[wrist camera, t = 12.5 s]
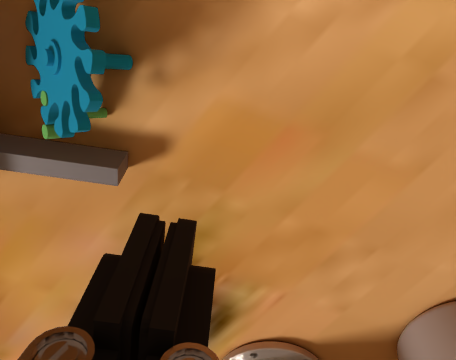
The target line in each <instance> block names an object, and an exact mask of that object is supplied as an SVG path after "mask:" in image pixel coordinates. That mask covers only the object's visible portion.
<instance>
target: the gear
mask: <svg viewBox="0 0 456 360" xmlns="http://www.w3.org/2000/svg"><path fill="white" fill-rule="evenodd" d="M83 1H84V0H34V2H35V5H36V8H37V12H35V11H28V14H27V17H26V22H25V24H26V28H27V30H28V31H29V32H30V33H31V34H32V36H33V39H34V42H35V45H36V46H26V63H27V64H28V65H34V66H35V67H36V68H37V70H38V71H39V73H40V78H41V80H40V79H32V80H31V90H32V95H33V98H41V102H42V104H43V106H42V107H41V116H42V118H43V121H44V123H45V124H43V126H42V134H43V137H44V138H45V139H54V138H66V137H74V134H75V132H87V131H89V130H90V129H91V124H90V120H89V118H106V117H107V110H106V108H100V107H101V105H102V102H103V97H102V94H101V92H100V91H99V90H97V88H96V87H95V86H94V84H93V82H92V80H91V74H104V71H105V69H123V70H130V69H131V68H132V65H133V60H132V57H131V56H130V55H122V54H108V53H105V52H104V51H103V50H93V49H91V48H90V47H89V46H88V44H87V43H86V41H85V36H84V34H85V31H89V32H98V31H99V29H100V19H99V13H98V8H97V7H91V6H85V5H80V6H79V7H78V9H77V12H76V14H75V7H76V4H77V3H79V2H83Z"/></svg>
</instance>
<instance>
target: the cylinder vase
mask: <svg viewBox="0 0 456 360" xmlns="http://www.w3.org/2000/svg"><path fill="white" fill-rule="evenodd" d="M397 355H398V359H399V360H456V301H454V302H449V303H445V304H442V305H439V306H436V307H434V308H431V309H429V310H427V311H425V312H424V313H422V314H420V315H419V316H417V317H416V318H415V319H414V320H412V321H411V322H410V323H409V324H408V325H407V326H406V328H405V329H404V330H403V332H402V334H401V335H400V338H399V340H398V345H397Z"/></svg>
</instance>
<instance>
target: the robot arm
mask: <svg viewBox="0 0 456 360" xmlns="http://www.w3.org/2000/svg"><path fill="white" fill-rule="evenodd" d="M196 224H197V221H194V220H187V219H180V218H179V219H178V222H177V223H173V222H171V223H170V226H169V229H168V233H167V236H166V239H165V243H164V236H165V221H159V216H158V215H151V214H144V213H140V214H139V216H138V219H137V221H136V223H135V225H134V228H133V230H132V232H131V235H130V237H129V239H128V241H127V244H126V246H125V248H124V251H123V253H122V255H114V254H107V253H106V254H104V255H103V257H102V258H101V260H100V262H99V264H98V266H97V268H96V270H95V272H94V274H93V276H92V278H91V280H90V282H89V284H88V286H87V288H86V290H85V292H84V294H83V296H82V298H81V300H80V302H79V304H78V306H77V308H76V310H75V312H74V314H73V316H72V318H71V320H70V322H69V324H68V326H65V327H57V328H54V329H51V330H48V331H46V332H44V333H43V334H41V335H39V336H38V337H36V338H35V339H34V340H33V341H32V342H31V343H30V344H29V345H28V347H27V348H26V349H25V351H24V352H23V353H22V354H21V356H20V357H19V358H18V360H219V358H218V357H217V355H216V354H215V353H214V352H213V351H212V350H210V349H209V348H208V340H209V330H210V320H211V310H212V301H213V291H214V281H215V271H216V269H215V268H207V267H200V266H193V265H191V264H192V256H193V248H194V240H195V232H196ZM222 360H319V359H318V358H317V357H316V356H314V355H313V354H312V353H310V352H309V351H307V350H306V349H303V348H301V347H299V346H296V345H293V344H289V343H284V342H276V341H265V342H257V343H252V344H248V345H244V346H242V347H240V348H237V349H235V350H233V351H232V352H230V353H229V354H227V355H226V356H225V357H224V358H223V359H222Z"/></svg>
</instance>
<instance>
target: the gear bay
mask: <svg viewBox="0 0 456 360" xmlns="http://www.w3.org/2000/svg"><path fill="white" fill-rule="evenodd" d="M127 168H128V152H126V151H119V150H112V149H105V148H98V147H91V146H84V145H77V144H70V143H63V142H56V141H49V140H42V139H35V138H29V137H22V136H15V135H8V134H1V133H0V170H7V171H14V172H21V173H29V174H36V175H43V176H50V177H57V178H64V179H71V180H78V181H85V182H93V183H100V184H107V185H114V186H118V185H119V183H120V181H121V179H122V177H123V176H124V174H125V172H126V170H127Z"/></svg>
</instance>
